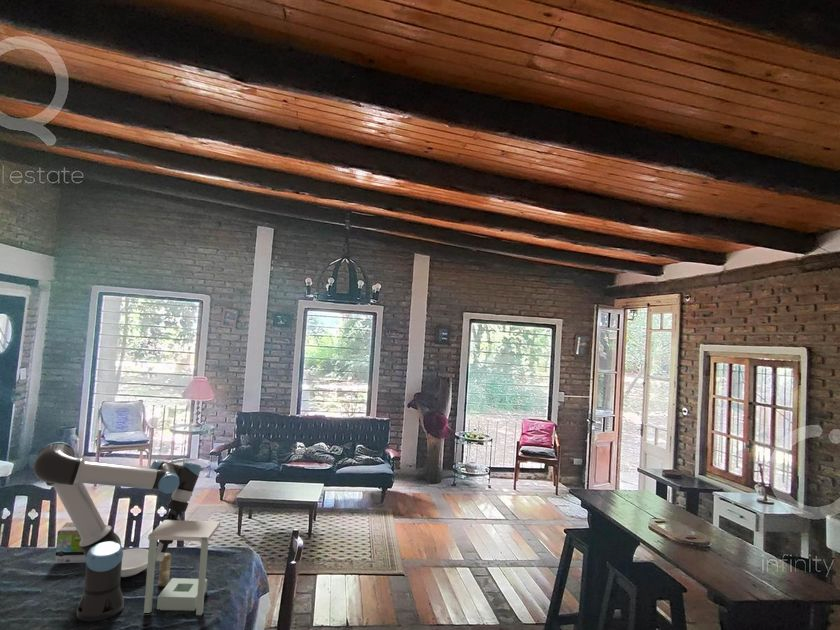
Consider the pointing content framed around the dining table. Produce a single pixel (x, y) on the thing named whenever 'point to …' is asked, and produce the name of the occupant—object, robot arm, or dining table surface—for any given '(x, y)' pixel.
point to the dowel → (164, 570)
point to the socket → (180, 589)
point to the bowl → (134, 561)
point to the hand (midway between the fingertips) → (157, 560)
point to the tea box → (69, 545)
